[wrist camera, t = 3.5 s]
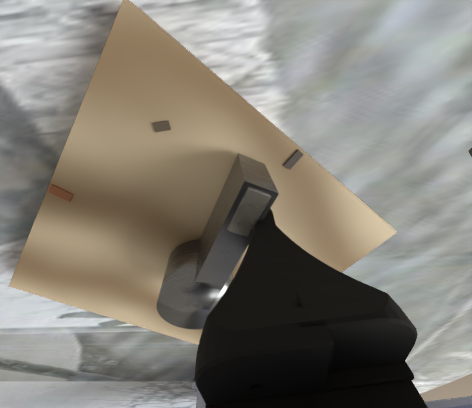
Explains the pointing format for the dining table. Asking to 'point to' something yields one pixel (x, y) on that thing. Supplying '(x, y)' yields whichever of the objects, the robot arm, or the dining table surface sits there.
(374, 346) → the robot arm
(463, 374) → the dining table surface
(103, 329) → the dining table surface
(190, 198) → the board
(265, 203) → the dial lever
